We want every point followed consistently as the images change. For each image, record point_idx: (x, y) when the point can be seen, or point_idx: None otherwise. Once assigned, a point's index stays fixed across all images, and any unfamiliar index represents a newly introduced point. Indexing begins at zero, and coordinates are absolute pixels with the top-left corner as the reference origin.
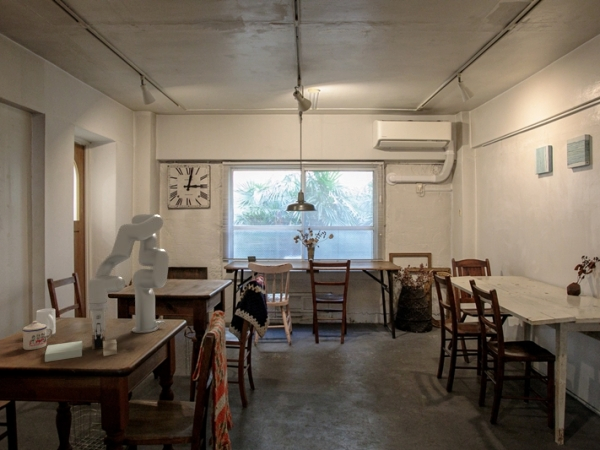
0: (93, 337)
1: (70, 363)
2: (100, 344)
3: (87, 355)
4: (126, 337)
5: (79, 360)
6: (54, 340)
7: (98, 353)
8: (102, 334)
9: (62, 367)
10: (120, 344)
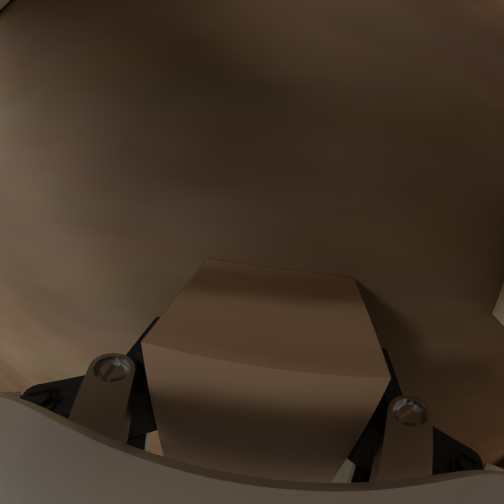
0: (308, 480)
1: (482, 452)
2: (387, 358)
3: (452, 410)
4: (84, 16)
5: (487, 431)
6: None
7: (482, 348)
8: (197, 384)
9: (492, 462)
10: (346, 78)
